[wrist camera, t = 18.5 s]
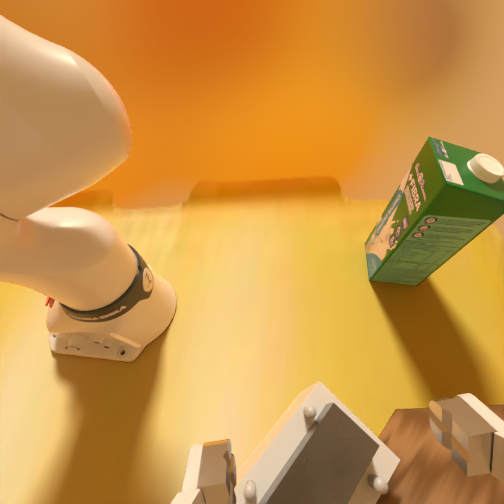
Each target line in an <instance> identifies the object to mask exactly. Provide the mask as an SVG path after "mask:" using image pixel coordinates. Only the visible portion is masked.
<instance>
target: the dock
mask: <svg viewBox="0 0 504 504" xmlns="http://www.w3.org/2000/svg"><path fill="white" fill-rule="evenodd" d="M328 403H335V404H336V405H337V406H338V407H339V408H340V409H341V410H342V411H343V412H344V413H345V414H346V415H348V416H349V417H350V418H351V419H352V420H353V421H354V422H355V423H356V424H357V425H358V426H359V427H360V428H361V429H362V430H364V431H365V432H366V433H367V434H368V435H369V436H370V437H371V438H372V439H373V440H374V441H375V442H376V443H377V444H378V445H380V446H379V448H378V450H377V452H376V453H375V455H374V457H373V459H372V461H371V462H370V464H369V466H368V468H367V470H366V472H365V473H364V475H363V477H362V479H361V481H360V482H359V484H358V486H357V488H356V490H355V491H354V493H353V495H352V497H351V499H350V500H349V502H348V504H376V502H377V501H378V499H379V497H380V495H381V494H386V493H387V491H388V485H387V483H388V481H389V479H390V478H391V476H392V474H393V472H394V471H395V469H396V467H397V465H398V463H399V462H400V459H399V458H398V457H397V456H396V455H395V454H394V453H393V452H392V451H391V450H390V449H389V448H388V447H387V446H386V445H385V444H384V443H383V442H382V441H381V440H380V439H379V438H378V437H377V436H376V435H375V434H374V433H373V432H372V431H371V430H370V429H369V428H367V427H366V426H365V425H364V424H363V423H362V422H361V421H360V420H359V419H358V418H357V417H356V416H355V415H354V414H353V413H352V412H351V411H350V410H349V409H348V408H347V407H346V406H345V405H344V404H343V403H342V402H341V401H340V400H339V399H338V398H337V397H336V396H335V395H334V394H333V393H332V392H331V391H330V390H329V389H328V388H327V387H326V386H325V385H324V384H323V383H322V382H321V381H318V382H317V383H315V384H313V385H312V386H310V387H308V388H307V389H305V390H303V391H302V392H300V393H299V395H298V396H297V397H296V398H295V400H294V401H293V402H292V403H291V404H290V406H289V407H288V408H287V409H286V411H285V412H284V413H283V414H282V416H281V417H280V418H279V419H278V421H277V422H276V423H275V424H274V426H273V427H272V428H271V429H270V431H269V432H268V433H267V434H266V436H265V437H264V438H263V439H262V440H261V442H260V443H259V444H258V445H257V447H256V448H255V449H254V450H253V452H252V453H251V454H250V455H249V457H248V458H247V459H246V460H245V462H244V463H243V464H242V465H241V467H240V468H239V469H238V470H237V472H236V486H235V488H234V491H235V495H236V504H258V503H259V502H260V500H261V499H262V497H263V496H264V495H265V493H266V492H267V490H268V489H269V487H270V486H271V484H272V483H273V481H274V480H275V478H276V477H277V476H278V474H279V473H280V471H281V470H282V468H283V467H284V465H285V464H286V462H287V461H288V459H289V458H290V457H291V455H292V454H293V452H294V451H295V449H296V448H297V446H298V445H299V443H300V442H301V440H302V439H303V438H304V436H305V435H306V433H307V432H308V430H309V429H310V427H311V426H312V424H313V423H314V421H315V420H316V419H317V417H318V416H319V414H320V413H321V411H322V410H323V408H324V407H325V405H326V404H328Z"/></svg>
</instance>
